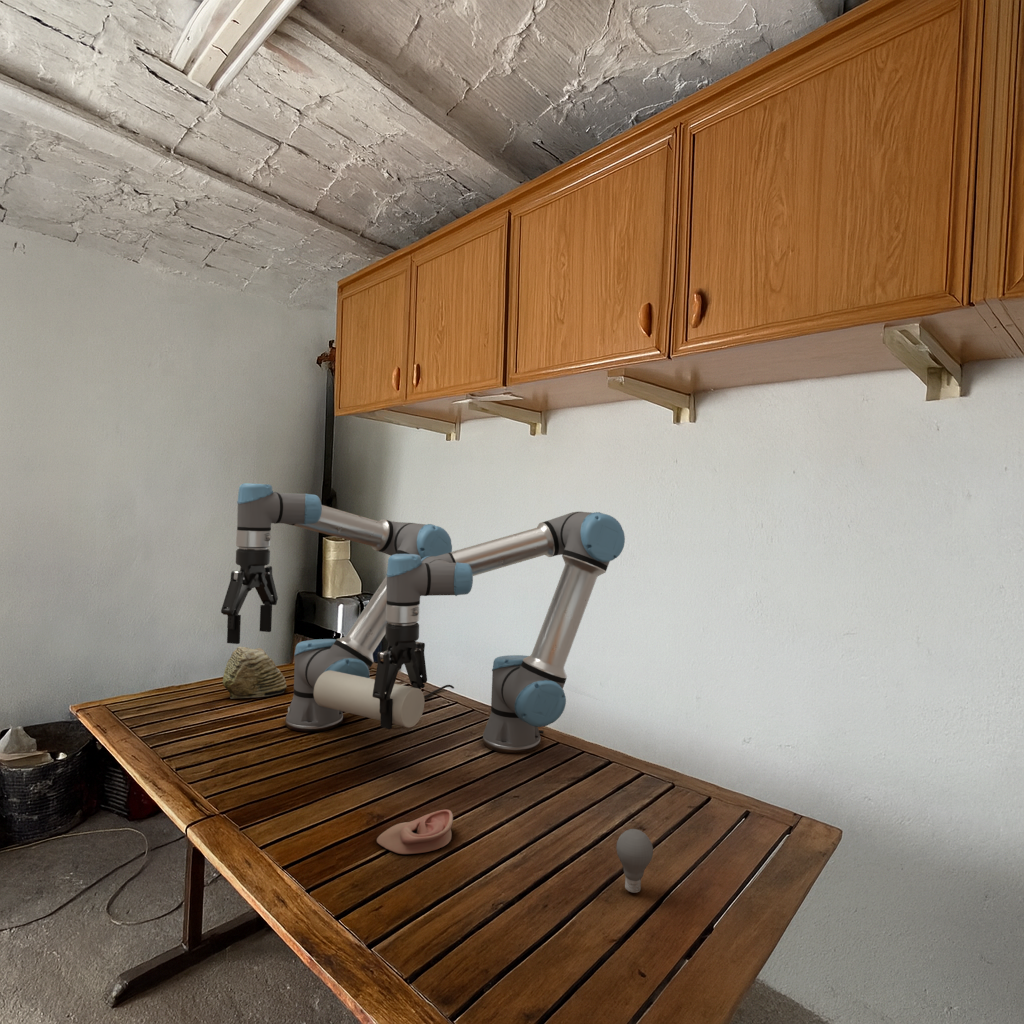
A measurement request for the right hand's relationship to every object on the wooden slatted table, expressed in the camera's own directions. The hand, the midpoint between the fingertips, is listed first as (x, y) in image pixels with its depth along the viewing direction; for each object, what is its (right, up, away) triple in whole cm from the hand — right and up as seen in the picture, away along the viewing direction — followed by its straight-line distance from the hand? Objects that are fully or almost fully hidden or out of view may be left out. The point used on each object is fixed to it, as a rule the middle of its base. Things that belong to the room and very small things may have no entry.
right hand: (400, 721), depth 144 cm
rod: (-8, 0, +5) cm, 10 cm away
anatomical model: (+7, -14, -25) cm, 30 cm away
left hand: (-37, +18, +7) cm, 42 cm away
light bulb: (+46, -16, -38) cm, 62 cm away
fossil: (-55, -10, +54) cm, 78 cm away
